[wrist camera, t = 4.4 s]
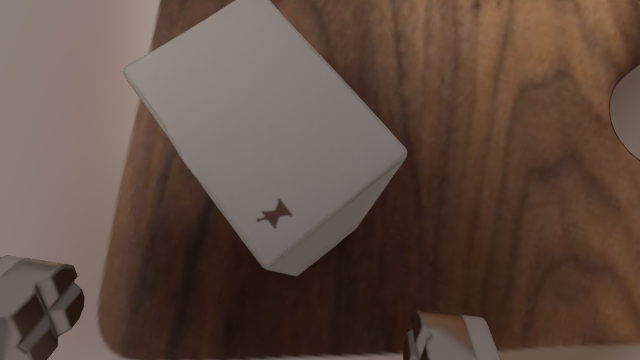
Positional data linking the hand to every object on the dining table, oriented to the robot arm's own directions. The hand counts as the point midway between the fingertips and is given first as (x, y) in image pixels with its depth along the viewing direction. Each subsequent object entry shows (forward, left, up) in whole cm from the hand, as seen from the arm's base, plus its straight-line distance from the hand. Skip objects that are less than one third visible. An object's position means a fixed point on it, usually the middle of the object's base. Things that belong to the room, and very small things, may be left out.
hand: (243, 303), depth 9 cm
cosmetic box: (0, +4, -11) cm, 11 cm away
